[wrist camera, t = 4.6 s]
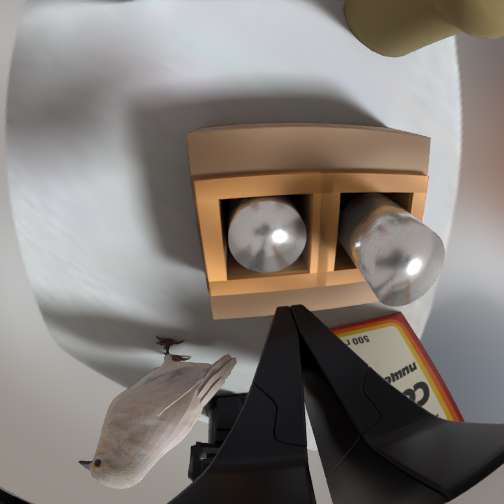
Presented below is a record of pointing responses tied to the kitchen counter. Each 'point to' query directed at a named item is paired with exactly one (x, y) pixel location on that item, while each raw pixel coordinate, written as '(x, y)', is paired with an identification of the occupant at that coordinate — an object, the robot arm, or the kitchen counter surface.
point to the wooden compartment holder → (297, 204)
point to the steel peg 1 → (265, 232)
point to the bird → (154, 417)
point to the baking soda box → (400, 361)
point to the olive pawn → (420, 22)
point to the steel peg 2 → (390, 248)
